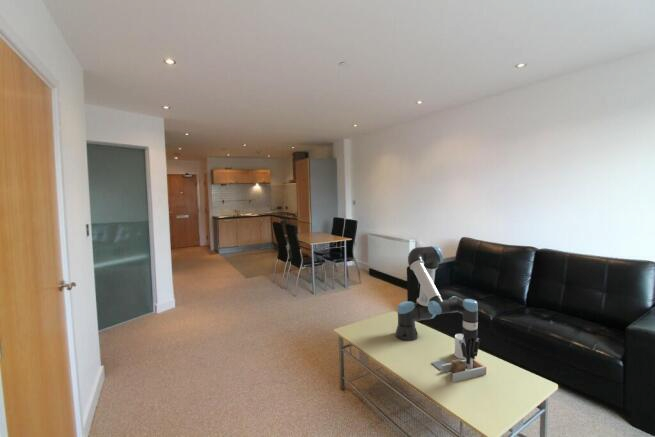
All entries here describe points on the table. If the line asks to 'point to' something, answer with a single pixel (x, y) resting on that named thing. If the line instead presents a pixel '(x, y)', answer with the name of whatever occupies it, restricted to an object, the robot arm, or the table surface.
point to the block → (457, 366)
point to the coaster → (438, 364)
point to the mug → (458, 346)
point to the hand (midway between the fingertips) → (469, 368)
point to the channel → (476, 371)
